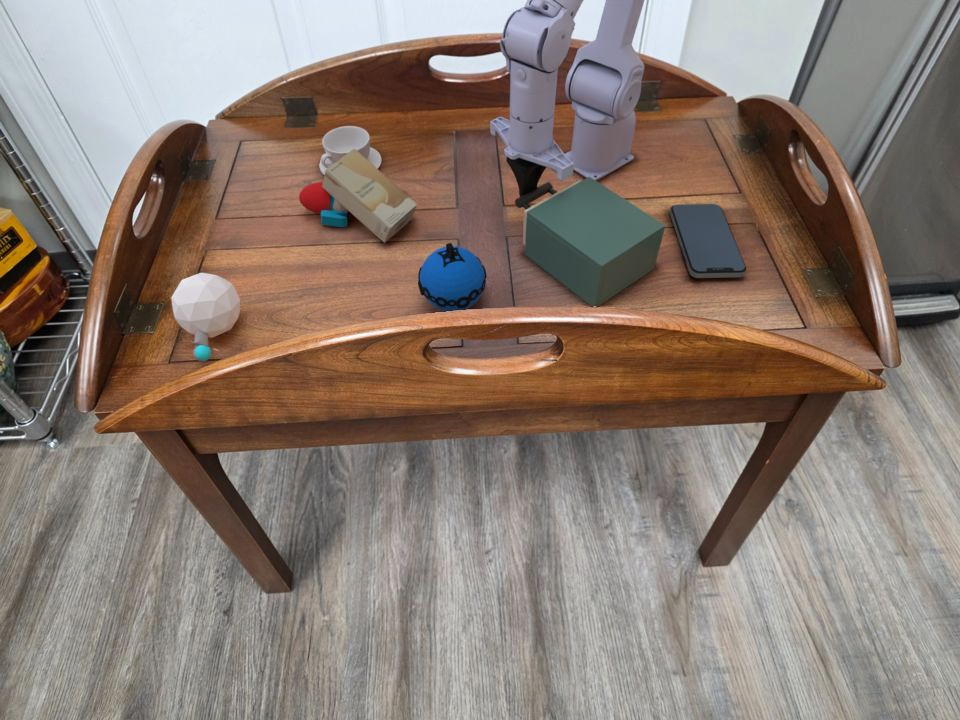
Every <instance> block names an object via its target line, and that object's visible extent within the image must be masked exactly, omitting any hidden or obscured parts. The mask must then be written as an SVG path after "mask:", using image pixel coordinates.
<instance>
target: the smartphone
mask: <svg viewBox="0 0 960 720" xmlns="http://www.w3.org/2000/svg"><path fill="white" fill-rule="evenodd" d="M669 216H670V218H671V221H672V224H673V228H674V231H675V233H676V236H677V240H678V243H679V246H680V249H681V252H682V255H683V259H684V261H685V264H686V267H687V270H688V273H689V275H690V276H691V277H692V278H695V279H716V278H719V279H721V278H722V279H723V278H725V279H726V278H741V277H744V276H745V274H746V271H747V266H746V264H745V261H744V259H743V256H742V254H741V252H740V249H739V246H738V245H737V242H736V240H735V237H734V235H733V233H732V229H731V228H730V225H729V222H728V220H727V217H726V216H725V213H724V210H723V209H722V207H721V206H720V205H719V204H716V203H695V204H694V203H692V204H689V203H688V204H674V205H671V207H670V210H669Z"/></svg>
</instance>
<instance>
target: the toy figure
mask: <svg viewBox="0 0 960 720" xmlns="http://www.w3.org/2000/svg"><path fill="white" fill-rule="evenodd" d="M322 185H323V181H318V182H314V183H310V184H308V185H306V186H305V187H304V188H302V189H301V190H300V192H299V193H298V194H299V195H298V200H299V202H300V204H301V205H302V206H303V208H305V209H306V210H308V211H309V212H312V213H314V214H317V215H320V223H321V225H322V226H323V225H324V226H331V227H336V228H345V227H348V213H350V212H349V211H348V210H347V209H346V208H345V207H344V206H343V205H342V204H341V203H339V202H338V201H337V200H336V199H335V198H334V197H333V196H332V195H331V194H329V193H328V192H327V191H326V190H325V189H324V188H323V187H322Z"/></svg>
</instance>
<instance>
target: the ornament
mask: <svg viewBox="0 0 960 720" xmlns="http://www.w3.org/2000/svg"><path fill="white" fill-rule="evenodd" d="M417 274H418V276H417V277H418V278H417V279H418V281H417V286H418V290H419V293H420V295H421V296H424V298H425V299H426V301H427V302H428V303H429V304H430V305H431V306H433V307H434V308H436V309H437V310H439V311H443V312H446V311H453V310H463V309H465V310H467V309H470V308H471V307H472V306H475V304H476V303H477V302H478V300H479V299H481V297H482V294H483V293H484V291H485V289H486V284H487V280H486V279H487V271H486V268H485V266H484V264H482V261H481V259H480V257H479V256H477V255H476V254H474V252H472V251H470V250H468V249H467V248H464V247H462V246H457V245H453V243H452V242H449V243H448V242H447V243H445V246H443V247H440V248H438V249H436V250H434V251H433V252H432V253H430V254H428V256H427V257H426V258H425V260H424V262H423V264H422V265H421V266H420V267H419V269H418V273H417ZM463 311H464V310H463Z"/></svg>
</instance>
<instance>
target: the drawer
mask: <svg viewBox="0 0 960 720" xmlns="http://www.w3.org/2000/svg"><path fill="white" fill-rule="evenodd" d="M581 181H582V180H581V179H578V180H576V181H575V182H572V183H571V184H569V185H568V186H566V187H564V188H562V189H560V190H559V191H557V190H556V189H554V188H553V185H552V183H551V182H549V181H547V182H545V183H543V184H540V185H539V186H537V188H535V189H534V190H532V191H530V192H528V193H526V194H524V195H523V196H521V197H520V196H519V197H517V198H515V199H514V204H515V206H516V208H518V209H522V208H523V209H524V210H523V223H522V224H523V226H522V245H524V246H525V243H526V221H527V211H529V210H531V209H533V208H534V207H536V206H538V205H540V204H542V203H543V202H545V201H547V200H549V199H550V198H552V197H554V196H556V195H558V194H559V193H561V192H563V191H565V190H567V189H568V188H570V187H572V186H574V185H575V184H577V183H579V182H581ZM547 194H550V196H548V197H546V198H544V199H542V200H541V201H539V202H537V203H535V204H533V205H530V204H531V203H533V202H534V201H536V200H538V199H540V198H542V197H543V196H545V195H547Z"/></svg>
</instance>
